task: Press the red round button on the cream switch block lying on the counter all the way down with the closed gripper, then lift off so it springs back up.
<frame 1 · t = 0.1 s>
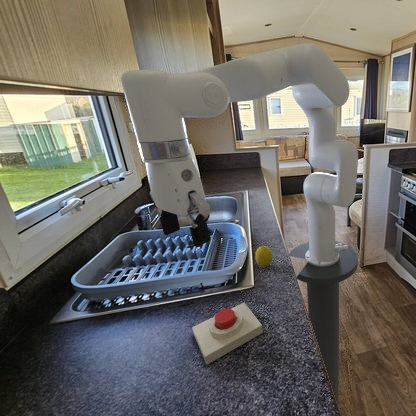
hand: (186, 237, 52), 26 cm above the worktop, tool pointing down, fingers open, 9 cm apart
button: (225, 318, 60), point 5 cm above the worktop, slide at 0.1 cm
switch block: (228, 333, 62), on the worktop
lemon: (265, 267, 88), on the worktop
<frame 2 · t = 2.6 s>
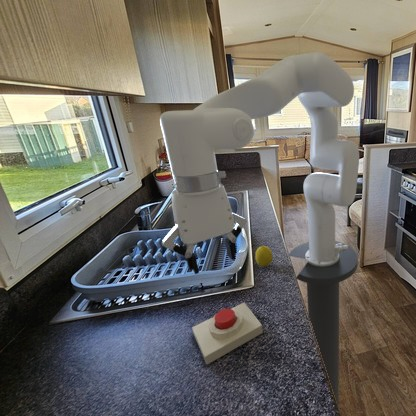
hand: (214, 263, 55), 20 cm above the worktop, tool pointing down, fingers open, 6 cm apart
nothing on the worktop moved.
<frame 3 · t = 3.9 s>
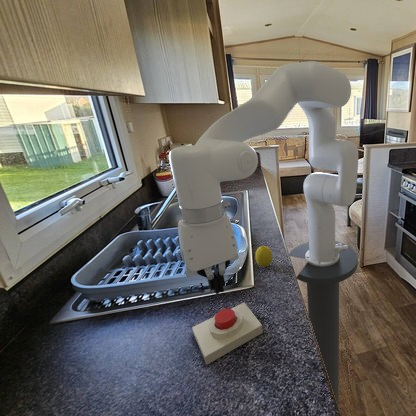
hand: (217, 289, 57), 13 cm above the worktop, tool pointing down, fingers closed
nothing on the worktop moved.
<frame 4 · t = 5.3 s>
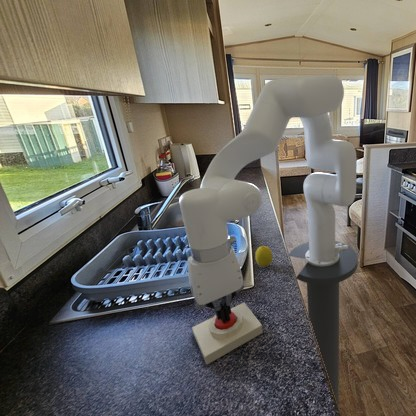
hand: (224, 318, 60), 5 cm above the worktop, tool pointing down, fingers closed
button: (225, 321, 61), point 4 cm above the worktop, slide at -0.7 cm, touching gripper
everything else where it was.
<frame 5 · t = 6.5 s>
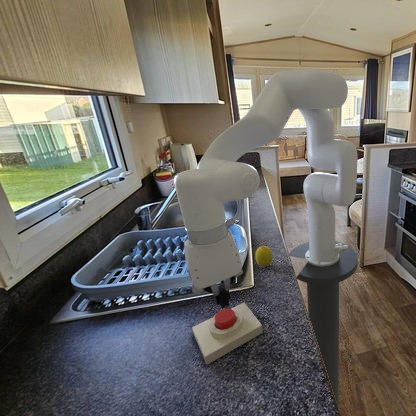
hand: (223, 303, 59), 9 cm above the worktop, tool pointing down, fingers closed
button: (225, 318, 60), point 5 cm above the worktop, slide at 0.1 cm
everything else where it was.
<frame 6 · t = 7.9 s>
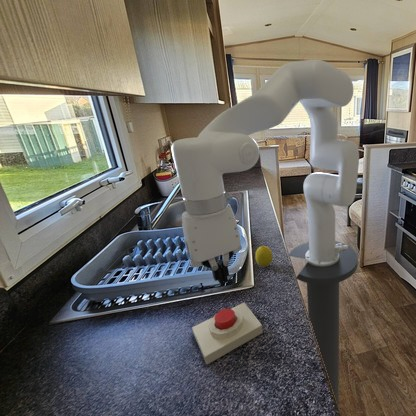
hand: (222, 280, 58), 14 cm above the worktop, tool pointing down, fingers closed
nothing on the worktop moved.
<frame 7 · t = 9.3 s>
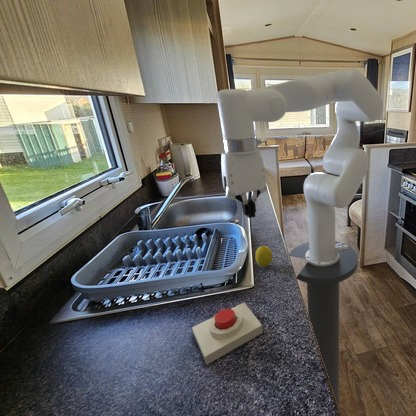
hand: (250, 215, 69), 23 cm above the worktop, tool pointing down, fingers closed
nothing on the worktop moved.
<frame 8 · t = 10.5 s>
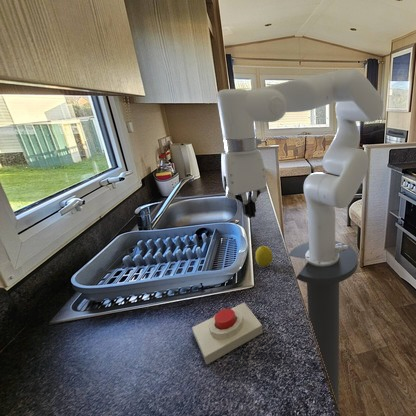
hand: (250, 215, 69), 23 cm above the worktop, tool pointing down, fingers closed
nothing on the worktop moved.
at the end: button pushed in 0.9 cm at the most during the clip, back to where it started at the end; button slide at 0.1 cm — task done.
